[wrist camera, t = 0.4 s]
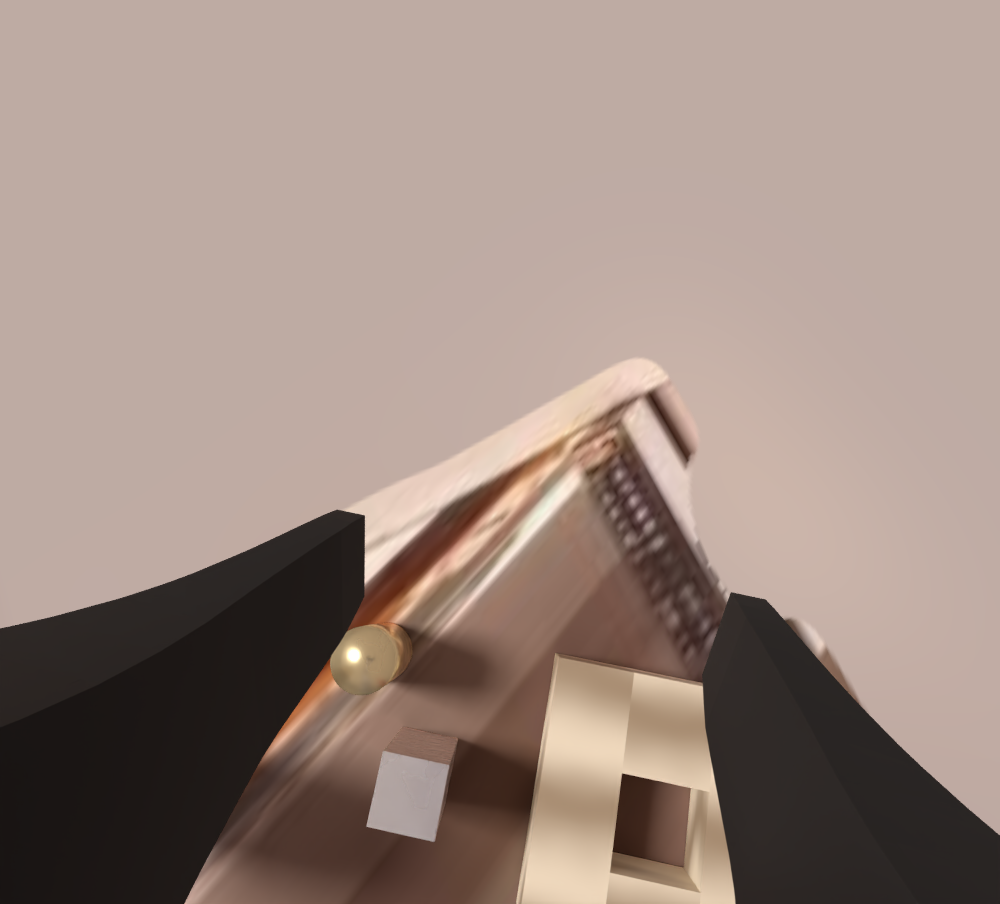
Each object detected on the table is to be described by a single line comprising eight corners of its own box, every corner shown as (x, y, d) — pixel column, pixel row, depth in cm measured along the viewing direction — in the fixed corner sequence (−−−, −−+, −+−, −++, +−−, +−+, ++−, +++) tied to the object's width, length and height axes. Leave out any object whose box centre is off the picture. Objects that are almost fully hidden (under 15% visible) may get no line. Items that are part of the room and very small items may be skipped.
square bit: (446, 801, 34) (434, 842, 28) (389, 788, 34) (366, 826, 29) (458, 738, 35) (449, 765, 29) (402, 726, 35) (383, 751, 30)
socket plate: (752, 995, 32) (777, 1035, 29) (510, 938, 32) (511, 972, 29) (771, 696, 36) (794, 705, 33) (555, 652, 36) (559, 657, 34)
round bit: (405, 685, 36) (386, 701, 30) (351, 674, 36) (322, 688, 30) (418, 628, 37) (402, 633, 31) (365, 617, 37) (339, 620, 31)
